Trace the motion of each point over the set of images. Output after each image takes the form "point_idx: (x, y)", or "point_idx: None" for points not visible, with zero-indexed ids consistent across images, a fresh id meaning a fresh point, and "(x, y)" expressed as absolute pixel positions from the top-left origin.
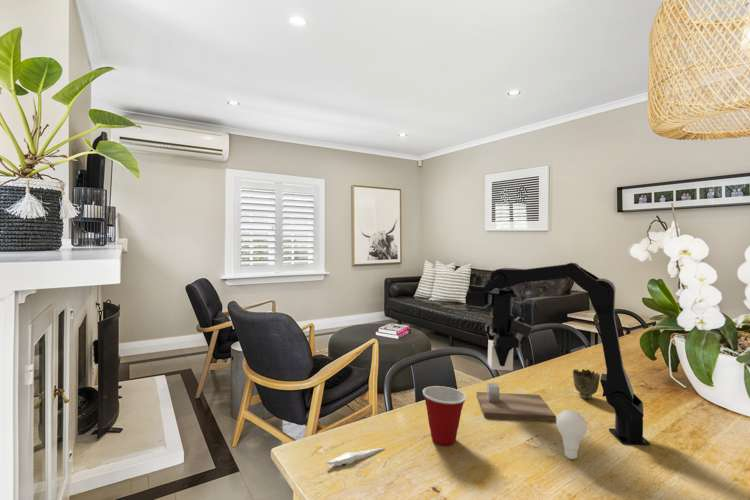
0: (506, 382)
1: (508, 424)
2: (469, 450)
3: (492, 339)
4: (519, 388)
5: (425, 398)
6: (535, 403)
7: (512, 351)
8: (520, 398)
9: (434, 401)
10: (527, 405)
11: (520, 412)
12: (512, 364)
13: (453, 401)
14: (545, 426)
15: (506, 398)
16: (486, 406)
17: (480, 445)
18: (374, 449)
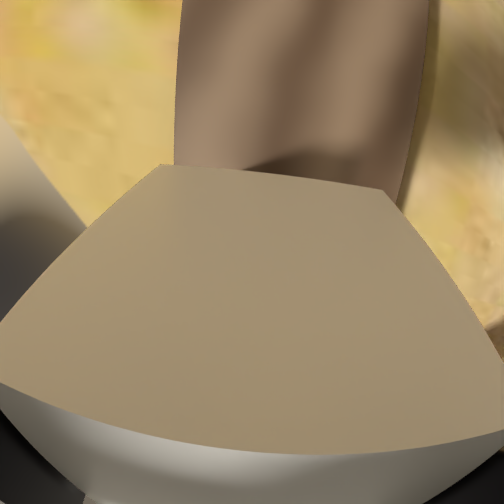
0: (25, 78)
1: (431, 190)
2: (493, 325)
3: (67, 490)
4: (75, 28)
5: None
6: (302, 4)
7: (480, 348)
8: (239, 54)
9: None
10: (327, 52)
11: (399, 122)
12: (404, 221)
13: None
14: (457, 61)
15: (241, 126)
16: None
17: (491, 302)
18: None
